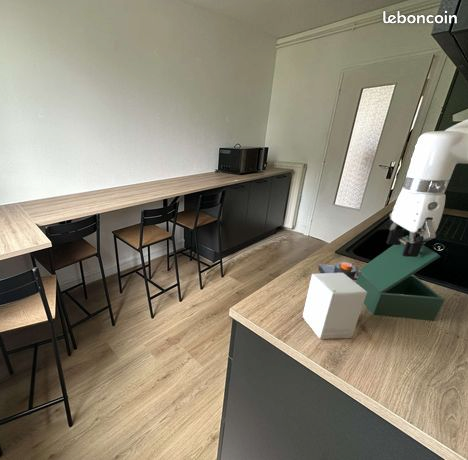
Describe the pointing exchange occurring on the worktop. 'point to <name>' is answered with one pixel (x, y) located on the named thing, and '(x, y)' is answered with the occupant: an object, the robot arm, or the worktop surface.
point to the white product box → (333, 305)
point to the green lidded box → (402, 299)
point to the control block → (338, 270)
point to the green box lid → (396, 265)
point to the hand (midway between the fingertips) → (401, 249)
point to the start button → (346, 266)
